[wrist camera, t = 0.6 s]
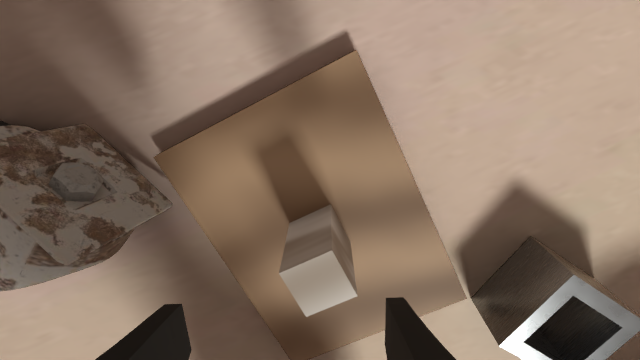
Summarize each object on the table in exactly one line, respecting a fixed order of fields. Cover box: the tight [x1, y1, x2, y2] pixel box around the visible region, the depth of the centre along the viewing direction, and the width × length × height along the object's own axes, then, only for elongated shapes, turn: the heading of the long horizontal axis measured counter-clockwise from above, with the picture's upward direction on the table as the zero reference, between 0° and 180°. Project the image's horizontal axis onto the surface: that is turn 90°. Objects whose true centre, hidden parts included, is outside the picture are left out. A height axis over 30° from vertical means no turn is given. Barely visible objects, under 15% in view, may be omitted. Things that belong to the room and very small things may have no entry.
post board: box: [154, 50, 467, 360], centre depth 19 cm, size 16×12×6 cm
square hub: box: [471, 236, 640, 360], centre depth 21 cm, size 5×5×4 cm
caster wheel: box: [0, 121, 172, 291], centre depth 19 cm, size 7×11×10 cm
